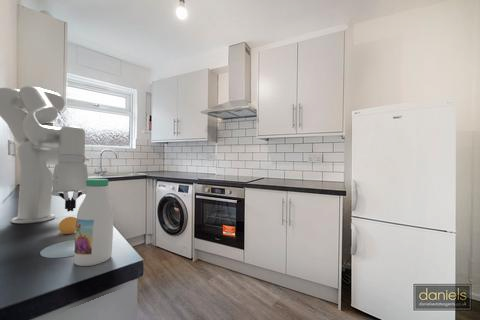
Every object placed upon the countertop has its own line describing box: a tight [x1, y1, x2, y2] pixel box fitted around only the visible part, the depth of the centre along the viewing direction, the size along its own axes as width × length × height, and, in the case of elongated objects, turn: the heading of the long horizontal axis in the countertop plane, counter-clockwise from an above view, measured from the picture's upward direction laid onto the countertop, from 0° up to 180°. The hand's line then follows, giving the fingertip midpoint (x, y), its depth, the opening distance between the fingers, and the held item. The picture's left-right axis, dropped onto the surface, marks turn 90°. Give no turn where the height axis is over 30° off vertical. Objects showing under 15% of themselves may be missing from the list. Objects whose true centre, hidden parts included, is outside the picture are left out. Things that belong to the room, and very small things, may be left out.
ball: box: [58, 216, 77, 235], centre depth 71 cm, size 6×6×6 cm
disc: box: [39, 239, 75, 259], centre depth 59 cm, size 13×13×1 cm
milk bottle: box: [73, 178, 114, 267], centre depth 53 cm, size 8×8×20 cm
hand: (70, 210), depth 78 cm, fingers closed
